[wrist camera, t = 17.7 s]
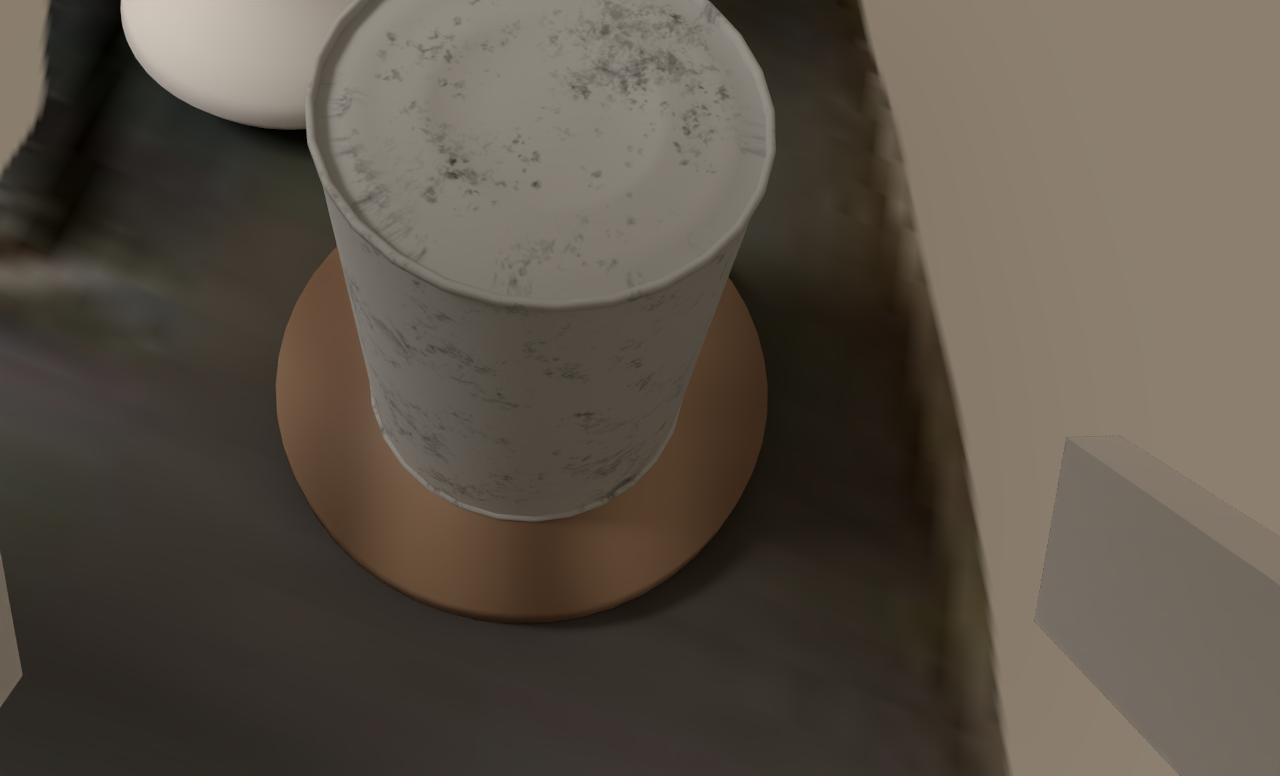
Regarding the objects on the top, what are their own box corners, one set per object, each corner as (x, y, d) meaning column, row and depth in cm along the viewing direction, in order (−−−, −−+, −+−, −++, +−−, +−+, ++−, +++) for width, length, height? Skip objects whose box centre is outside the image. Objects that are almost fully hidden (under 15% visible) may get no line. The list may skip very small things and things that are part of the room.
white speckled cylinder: (696, 518, 31) (807, 306, 20) (363, 527, 30) (286, 306, 19) (669, 244, 35) (748, -54, 24) (375, 242, 34) (317, -76, 23)
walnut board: (314, 676, 29) (308, 668, 28) (258, 226, 35) (251, 205, 34) (820, 564, 32) (831, 552, 31) (690, 169, 38) (695, 148, 37)
